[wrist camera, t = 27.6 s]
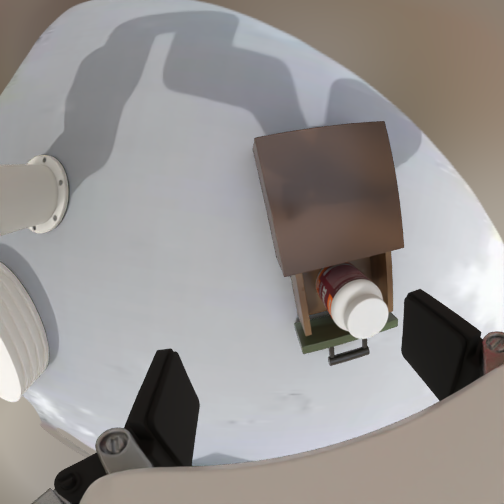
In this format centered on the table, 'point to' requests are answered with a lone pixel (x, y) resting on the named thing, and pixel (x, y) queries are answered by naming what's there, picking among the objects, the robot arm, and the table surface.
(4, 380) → the plate stack
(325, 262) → the cabinet
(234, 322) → the table surface
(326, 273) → the pill bottle
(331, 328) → the drawer
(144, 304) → the table surface
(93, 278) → the table surface
